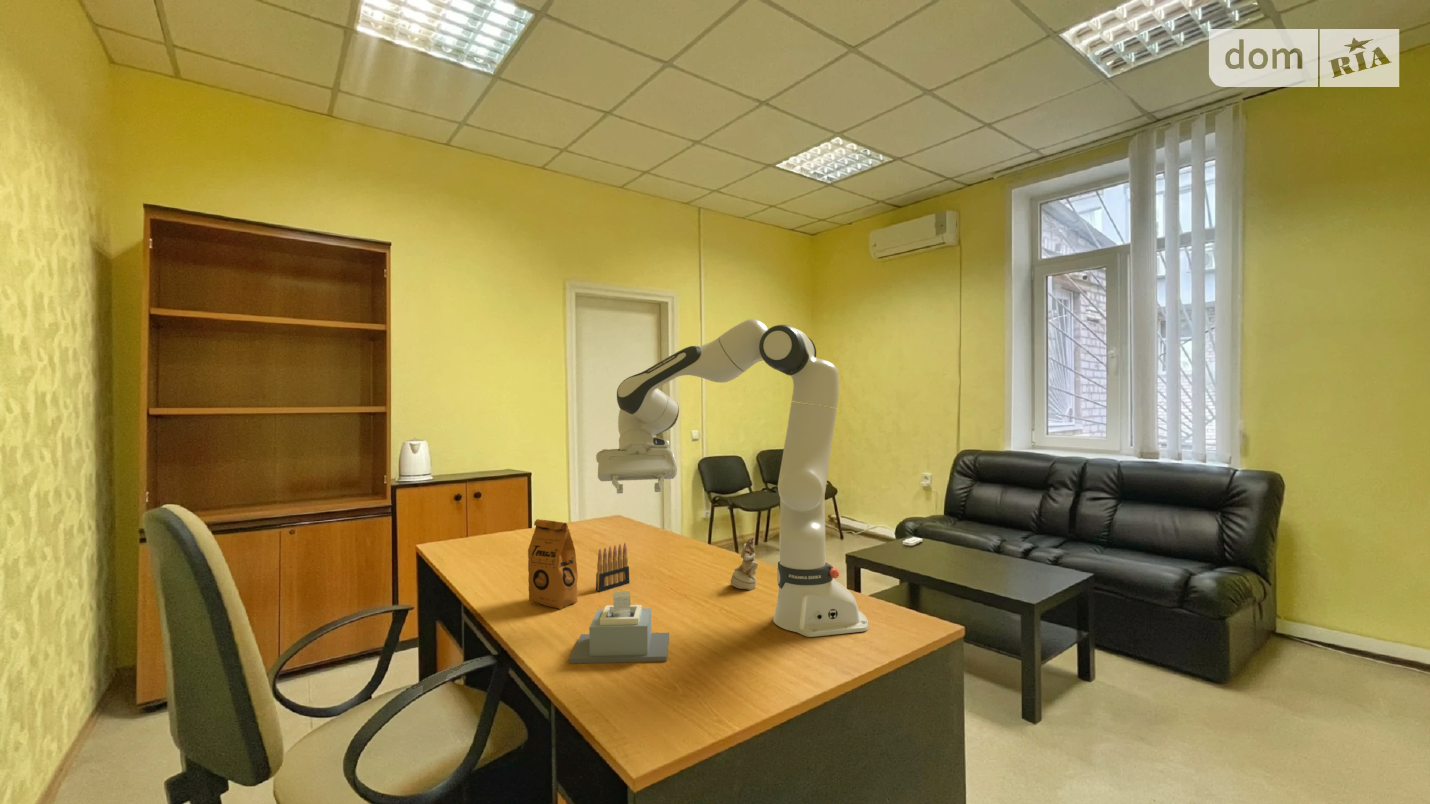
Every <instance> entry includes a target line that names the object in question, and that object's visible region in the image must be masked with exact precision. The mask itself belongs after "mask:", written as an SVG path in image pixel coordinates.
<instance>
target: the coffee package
mask: <svg viewBox="0 0 1430 804" xmlns="http://www.w3.org/2000/svg"><path fill="white" fill-rule="evenodd" d="M533 525H534V526H535V529H534V531H533V534H532V537H531V540H530V544H529V546H528V549H527V558H528V562H527V564H528V566H527V567H528V568H527V569H528V578H527V579H528V602H532V603H537V604H542V606H543V605H544V606H546V607H550V608H555V609H559V610H562V609H563V608H566V607H569V606H570V605H573V604H576V603H578V577H579V576H578V575H579V574H578V573H579V572H578V564H577V558H576V557H577V555H576V549H575V544H574V541H573V538H572V536H571V532H570V529H569V526H568V523H567V522H561V521H556V520H550V519H549V520H547V519H538V518H537V519H536V520H535V521H534V522H533Z"/></svg>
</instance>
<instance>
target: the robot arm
mask: <svg viewBox="0 0 1430 804" xmlns="http://www.w3.org/2000/svg"><path fill="white" fill-rule="evenodd" d="M761 361H764V363H765V364H766V365H768V366H769V367H771V368H772V369H773V370H776V371H778V372H780V373H783V374H785V376H790V377H791V379H792V382H793V387H792V388H793V389H792V395H791V403H790V409H789V415H788V421H787V428H786V434H785V435H786V436H785V440H784V445H783V446H784V447H783V451H782V458H781V463H780V470H779V474H778V480H777V481H778V482H777V492H778V495H779V499H780V501H779V502H780V503H779V528H778V529H779V540H778V541H779V561H778V562H777V568H776V570H777V572H776V573H777V574H776V575H777V579H776V580H777V585H778V593H777V600H776V601H777V602H776V607H775V611H774V615H773V618H772V620H773V623H774V624H775V625H777V626H778V627H780V628H782V629H784V630H786V631H791V632H794V633H798V634H800V635H802V636H804V637H807V638H814V637H823V636H831V635H833V636H834V635H841V634H843V635H844V634H850V633H859V632H867V630H868V629H869V621H868V618H867V617H866V615H865V614H864V613H863V612H862V611H861V610H859V607H858V603H857V601H856V597H855V596H854V594H853V593H852V592H851V591H850V590H849V589H848V588H846V587H845V586H843V585H842V584H841V583H840V582H838V580H836V579H838V578H839V577H840V576H839V575H840V572H839V570H838V569H837V568H835V567H834V566H833V565H831V564H830V563H829V562H826V508H825V507H826V504H825V503H826V501H825V500H826V499H825V498H826V496H825V494H826V489H827V483H828V482H827V481H828V475H829V467H830V460H831V459H830V458H831V452H832V443H833V437H834V432H835V431H834V429H835V425H836V418H837V411H838V409H837V408H838V404H839V395H840V394H839V392H840V391H839V390H840V379H839V378H840V377H839V376H840V375H839V374H840V373H839V370H838V368H837V367H836V365H835V364H834V363H832V362H830V361H829V360H827V359H822V358H819V357H818V358H817V347H816V346H815V343H814V341H813V340H812V339H811V338H810V336H808V335H807V334H805V333H804V331H802V330H800V329H799V328H795V327H793V326H791V325H789V324H788V325H787V324H777V325H773V326H771V327H770V328H768V326H767V325H766V324H765V323H763V322H762V321H761V320H759V319H756V318H749V319H746V320H744V321H741V322H740V323H738V324H737V325H735V326H733V327H731V328H730V329H728V330H726V332H724V333H722V334H721V335H720V336H718V337H717V338H715V339H714V340H712V341H710V342H708V343H706V344H703V345H698V346H696V345H690V346H687V347H685V348H684V347H683V348H682V349H680V350H678V351H677V352H675V353H673V354H671V355H669V356H668V357H665V358H664V359H663V360H661V361H660V362H657V363H655V364H654V365H652V366H650V367H649V368H647V369H646V370H643V371H641V372H638V373H636V374H633V375H630V376H629V377H626V378H625V379H624V380H623V381H621V383H619V385H618V387H617V389H616V402H617V405H618V407H619V411H618V419H617V421H618V422H617V426H618V427H617V428H618V432H619V439H618V448H611V449H608V448H605V449H601V450H599V451H598V452H596V458H595V460H596V462H597V463H598V465H597V479H598V480H599V481H600V482H611V485H613V486H614V488H615V489H616V494H617V495H619V494H623V493H624V488H623V487H624V484H623V483H619V481H621V482H623V481H647V480H649V481H650V480H657V482H655V483H654V485H653V486H654V493H661V492H662V485H663V483H664V481H665V480H673V479H675V478H676V476H677V474H678V473H677V472H678V466H677V460H676V458H675V457H676V456H675V454H674V452H673V451H672V449H670V441H669V440H668V439H665V438H660V437H656V436H658V435H661V434H662V433H664V432H667V431H669V430H670V429H671V428H673V427H674V426H675V425H676V424H677V421H678V418H679V413H680V408H679V404H678V402H677V401H676V400H674V399H673V398H672V397H670V396H669V395H668V394H666V393H665V392H663V391H662V390H660V389H659V388H660V387H662V386H665V385H666V384H668V383H669V382H671V381H672V380H675V379H676V378H678V377H681V376H692V377H697V378H701V379H704V380H708V381H710V382H713V383H728V382H730V381H733V380H735V379H737V378H738V377H740V375H742V374H743V373H744V372H746V371H747V370H748V369H750V368H751V367H753V366H754V365H755V364H757V363H759V362H761Z"/></svg>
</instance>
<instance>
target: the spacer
mask: <svg viewBox="0 0 1430 804" xmlns="http://www.w3.org/2000/svg"><path fill="white" fill-rule="evenodd" d="M642 608H643V605H642V604H630V612H635V615H634V617H608V616H609V613H610V612H613V604H612V605H609V604H608V605H605V607H604V608H603V609H604V611H603V613H602V616H601V618H600V625H627V624H638V623H639V619H640V616H641V612H642Z"/></svg>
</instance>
